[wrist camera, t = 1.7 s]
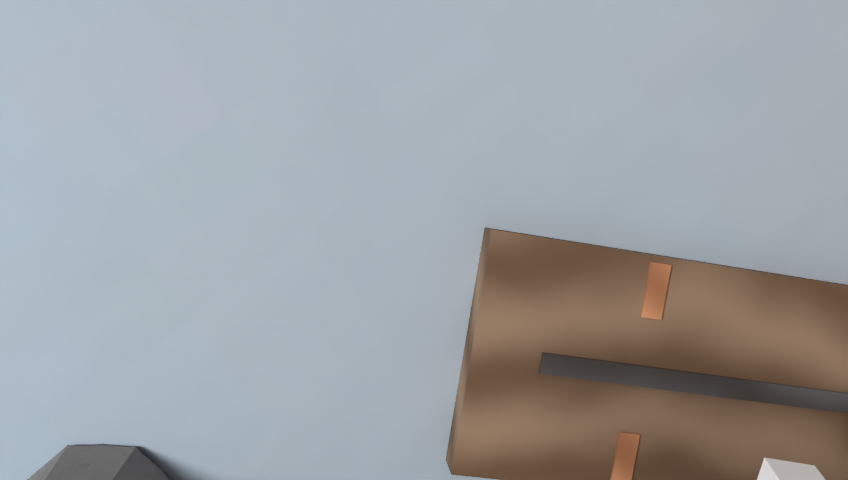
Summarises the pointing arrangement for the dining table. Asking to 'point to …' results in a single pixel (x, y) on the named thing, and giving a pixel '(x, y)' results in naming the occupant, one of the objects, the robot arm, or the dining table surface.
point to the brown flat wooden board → (645, 367)
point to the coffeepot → (99, 464)
